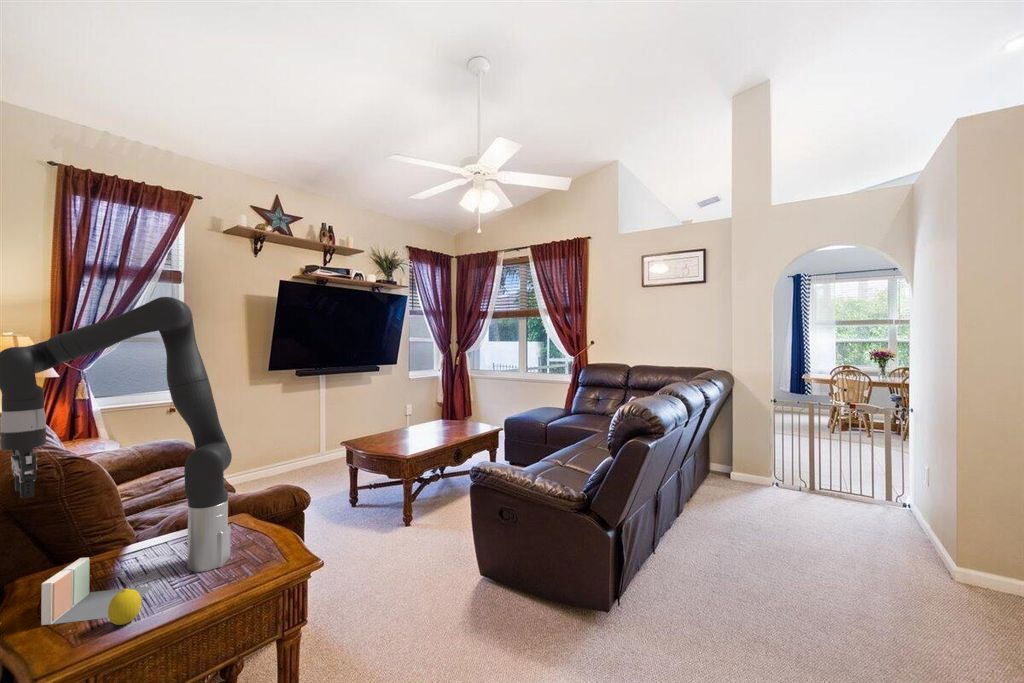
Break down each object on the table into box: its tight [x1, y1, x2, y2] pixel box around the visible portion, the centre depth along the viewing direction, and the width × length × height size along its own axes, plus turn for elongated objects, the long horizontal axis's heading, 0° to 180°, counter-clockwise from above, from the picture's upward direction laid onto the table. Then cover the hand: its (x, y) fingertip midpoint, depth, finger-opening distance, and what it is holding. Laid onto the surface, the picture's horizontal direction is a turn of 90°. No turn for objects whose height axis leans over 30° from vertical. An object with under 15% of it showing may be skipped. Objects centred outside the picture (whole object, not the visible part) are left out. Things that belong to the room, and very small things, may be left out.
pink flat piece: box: [40, 569, 71, 626], centre depth 99 cm, size 2×6×9 cm, turn 13°
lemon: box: [108, 588, 142, 626], centre depth 97 cm, size 6×6×8 cm
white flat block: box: [62, 557, 90, 608], centre depth 105 cm, size 2×6×9 cm, turn 13°
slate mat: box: [48, 585, 154, 625], centre depth 104 cm, size 15×13×1 cm
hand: (24, 493), depth 109 cm, fingers open, 8 cm apart
